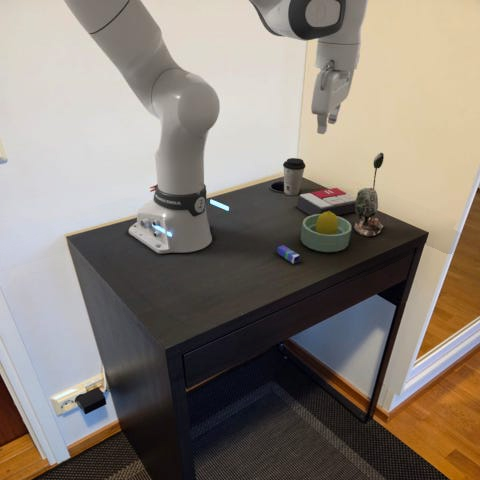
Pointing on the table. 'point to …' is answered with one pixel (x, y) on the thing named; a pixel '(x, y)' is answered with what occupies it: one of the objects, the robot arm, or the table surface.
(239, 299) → the table surface
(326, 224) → the lemon
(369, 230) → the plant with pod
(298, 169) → the coffee cup
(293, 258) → the eraser
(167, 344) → the table surface
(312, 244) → the bowl
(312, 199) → the calculator
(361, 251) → the table surface
